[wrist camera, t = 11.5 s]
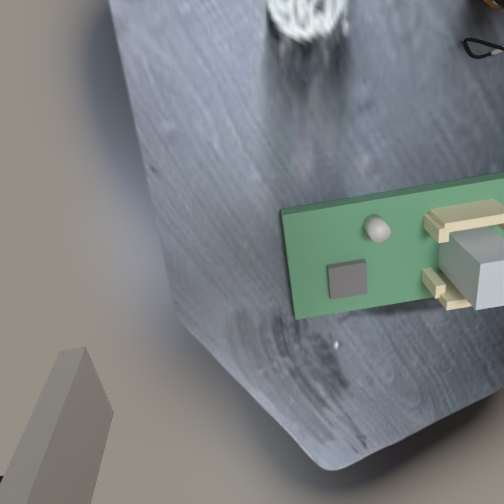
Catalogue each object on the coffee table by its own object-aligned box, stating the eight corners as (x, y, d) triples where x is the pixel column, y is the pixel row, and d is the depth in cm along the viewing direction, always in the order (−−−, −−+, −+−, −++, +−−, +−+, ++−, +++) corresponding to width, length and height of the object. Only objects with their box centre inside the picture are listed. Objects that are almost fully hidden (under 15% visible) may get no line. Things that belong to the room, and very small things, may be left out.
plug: (440, 225, 46) (484, 267, 39) (478, 218, 46) (530, 259, 39) (438, 266, 49) (478, 313, 41) (474, 260, 49) (522, 306, 41)
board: (280, 209, 46) (289, 237, 40) (514, 170, 46) (556, 193, 40) (293, 312, 52) (303, 349, 46) (499, 277, 52) (534, 311, 46)
